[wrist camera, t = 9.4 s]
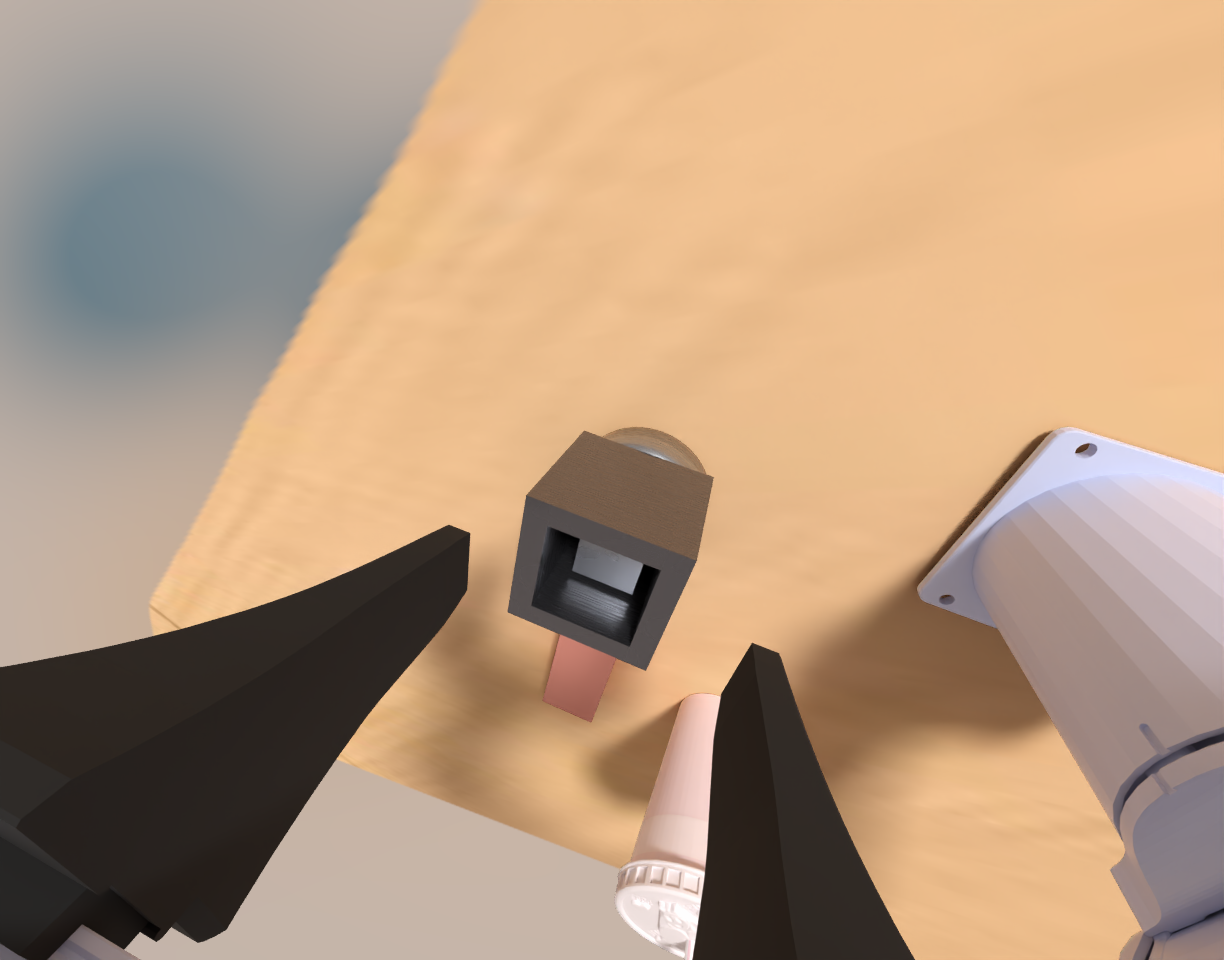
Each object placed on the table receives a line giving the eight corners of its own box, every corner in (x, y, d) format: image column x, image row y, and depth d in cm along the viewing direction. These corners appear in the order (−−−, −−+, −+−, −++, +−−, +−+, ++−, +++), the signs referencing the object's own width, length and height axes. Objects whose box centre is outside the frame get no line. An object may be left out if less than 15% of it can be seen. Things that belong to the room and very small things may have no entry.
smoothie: (683, 751, 29) (628, 1112, 17) (639, 682, 27) (541, 1037, 15) (785, 748, 26) (803, 1183, 14) (744, 671, 24) (725, 1101, 12)
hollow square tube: (713, 477, 16) (696, 560, 12) (671, 575, 19) (645, 670, 15) (584, 430, 17) (526, 495, 13) (561, 532, 20) (507, 612, 16)
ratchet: (622, 702, 28) (596, 788, 24) (535, 664, 29) (495, 741, 25) (730, 455, 18) (719, 525, 14) (594, 408, 19) (544, 460, 15)
